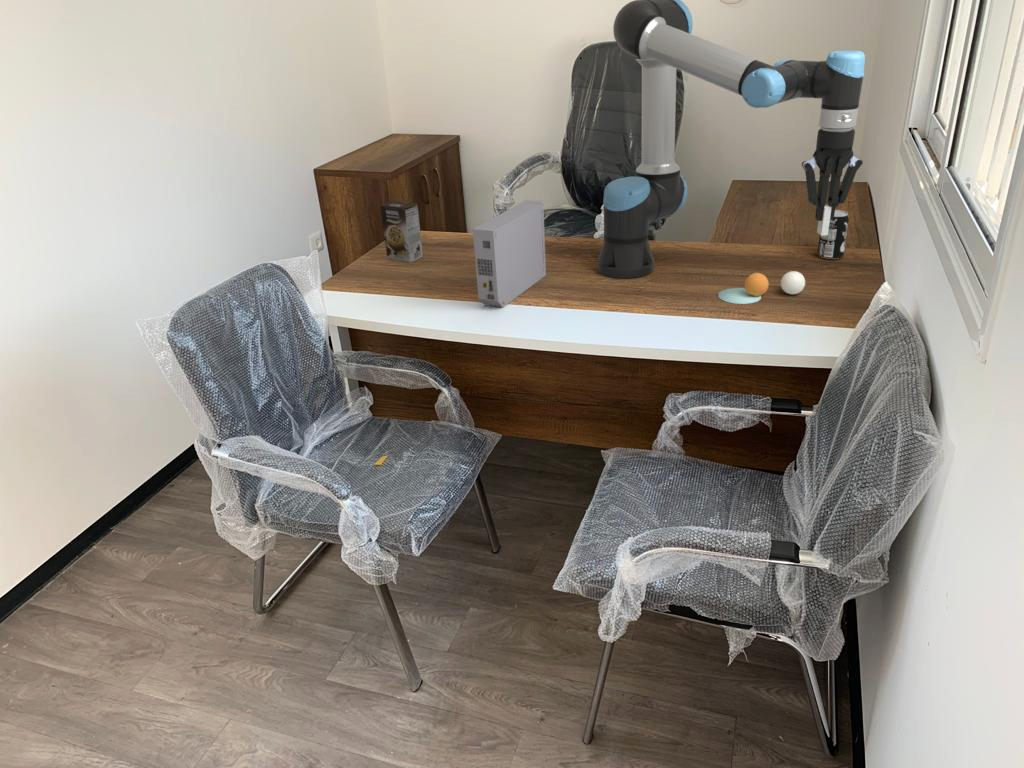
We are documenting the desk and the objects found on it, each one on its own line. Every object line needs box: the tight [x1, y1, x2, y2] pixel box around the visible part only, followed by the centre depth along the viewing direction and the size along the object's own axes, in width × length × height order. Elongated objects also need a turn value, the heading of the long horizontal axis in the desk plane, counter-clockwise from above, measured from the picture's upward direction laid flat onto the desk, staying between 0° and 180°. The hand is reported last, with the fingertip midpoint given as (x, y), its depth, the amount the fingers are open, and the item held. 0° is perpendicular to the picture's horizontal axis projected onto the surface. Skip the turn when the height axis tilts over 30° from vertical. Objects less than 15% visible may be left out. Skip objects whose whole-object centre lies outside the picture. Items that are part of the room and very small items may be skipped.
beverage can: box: [816, 209, 850, 259], centre depth 201 cm, size 7×7×12 cm
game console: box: [472, 199, 547, 308], centre depth 191 cm, size 6×27×20 cm, turn 152°
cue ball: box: [780, 270, 806, 295], centre depth 182 cm, size 6×6×6 cm
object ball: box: [744, 272, 770, 296], centre depth 182 cm, size 6×6×6 cm
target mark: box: [717, 287, 762, 305], centre depth 183 cm, size 10×10×1 cm
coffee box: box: [379, 200, 424, 264], centre depth 220 cm, size 9×6×16 cm
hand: (822, 233), depth 176 cm, fingers closed
